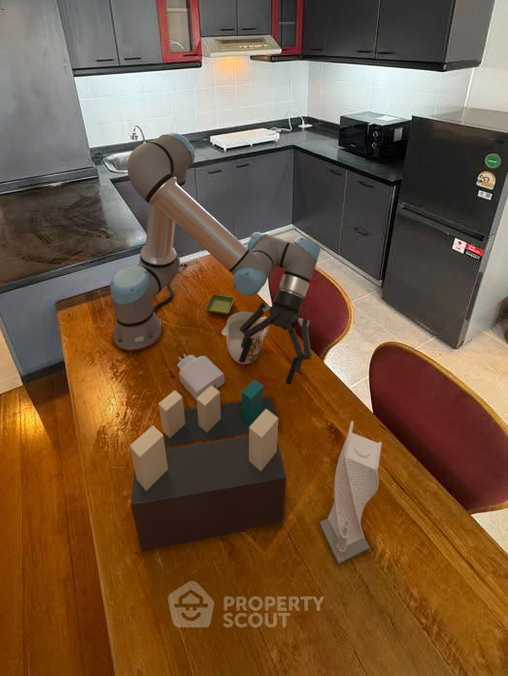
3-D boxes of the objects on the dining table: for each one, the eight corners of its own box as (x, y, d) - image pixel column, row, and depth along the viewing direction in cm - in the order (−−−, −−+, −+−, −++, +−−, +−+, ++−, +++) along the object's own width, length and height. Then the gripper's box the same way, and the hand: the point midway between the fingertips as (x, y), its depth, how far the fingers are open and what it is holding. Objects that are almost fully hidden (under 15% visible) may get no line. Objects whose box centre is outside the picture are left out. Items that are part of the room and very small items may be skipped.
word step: (145, 499, 81) (128, 419, 70) (272, 477, 85) (276, 398, 74) (141, 551, 73) (122, 470, 62) (282, 524, 77) (288, 443, 66)
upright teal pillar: (241, 419, 97) (241, 392, 93) (254, 405, 101) (254, 379, 96) (250, 426, 95) (250, 399, 91) (263, 412, 99) (263, 385, 94)
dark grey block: (163, 414, 99) (159, 385, 94) (271, 399, 103) (272, 371, 99) (162, 448, 91) (157, 419, 86) (279, 430, 95) (280, 401, 91)
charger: (194, 353, 118) (224, 384, 107) (168, 370, 112) (197, 404, 102) (193, 342, 115) (224, 372, 105) (167, 358, 110) (196, 391, 100)
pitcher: (280, 351, 119) (282, 316, 113) (234, 381, 108) (234, 345, 102) (257, 331, 126) (258, 298, 120) (212, 358, 116) (211, 323, 110)
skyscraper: (316, 515, 79) (329, 427, 66) (349, 500, 81) (367, 413, 69) (338, 564, 72) (357, 475, 59) (374, 546, 74) (399, 457, 62)
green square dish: (235, 301, 140) (235, 297, 139) (228, 317, 132) (228, 313, 131) (212, 298, 142) (212, 293, 141) (205, 313, 134) (204, 309, 133)
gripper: (337, 311, 101) (312, 393, 95) (255, 282, 112) (229, 354, 107) (333, 307, 94) (305, 394, 89) (246, 277, 106) (218, 352, 100)
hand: (264, 372), depth 98 cm, fingers open, 13 cm apart
